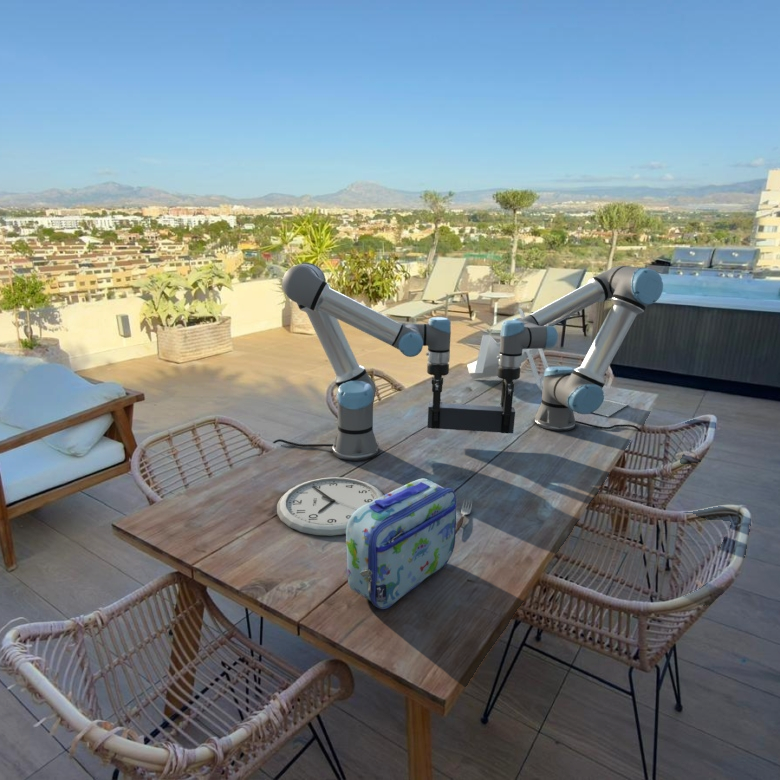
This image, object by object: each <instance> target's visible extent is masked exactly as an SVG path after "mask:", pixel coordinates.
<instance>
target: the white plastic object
mask: <svg viewBox="0 0 780 780" xmlns="http://www.w3.org/2000/svg"><path fill="white" fill-rule="evenodd" d="M518 312H519V315H520V318H521V319H522V318H524V317H526V315H525V312H524V311H523V309H522V308H521V307H520V308H518ZM480 340H481V341H480V345H479V349H478V356H477V358H476V360H475V361H472V362H470V363H468V364H467V369H468V374H469V376H470V377H471V379H473V380H476V379H485V378H494V377H498V367H499V366H500V365H499V359H497V357H498V356H500V355H499V351H500V341H498V342H497V341H496V340H495V338H494V337H493V336H492V334H482V336H481V339H480ZM538 354H539V357H540V359H541V363H542V364H543V368H544V371H545V370H546V369H547V368H549V367H550V366H549V363H548V361H547V358H546V355H545V352H544V348H542V349H522V360H521V364H523V363H524V362H525V361H527V359H528V361H529V365H530V368H531V371H532V374H533V378H534V381H535V384H536V386H537V388H538V389H539V391H541V392H542V391H543V384H542V381H541V379H540V375H539V372H538V369H537V366H536V364H535V363H536V362H535V360H534V357H533V356H535V355H538Z"/></svg>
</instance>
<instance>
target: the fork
mask: <svg viewBox="0 0 780 780" xmlns="http://www.w3.org/2000/svg"><path fill="white" fill-rule="evenodd" d="M465 500H466V499H465V498H464V500H463V503H462V506H461V509H460V513H461V515H462V516H461V517H460V518H459V519H458V522H457V523H456V533H455V536H456V535H457V533H458V532H459V531H460V529H461V527H462V525H463V522H464V517H465V516H467V515H470V514H471V512H472V506H473V502H471V500H469V501H466V502H465Z"/></svg>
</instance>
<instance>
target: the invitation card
mask: <svg viewBox="0 0 780 780" xmlns="http://www.w3.org/2000/svg"><path fill="white" fill-rule="evenodd" d="M627 406H628V404H627V403H623V402H618V401H614V400H609V399H605V398H604V400H603V403H602V404H601V406H600V407H599V408H598V409H597V410H596V411H594V412H592V414H594V415H595V414H596V415H600V416H603V417H608V418H609V417H611V416H612V415H614V414H616V413H617V412H619V411H620V410H622V409H624V408H625V407H627Z"/></svg>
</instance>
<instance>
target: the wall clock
mask: <svg viewBox="0 0 780 780" xmlns="http://www.w3.org/2000/svg"><path fill="white" fill-rule="evenodd" d="M384 495H385V494H384V493H383V492H382V491H381V490H380V489H379V488H377V487H376V486H375V485H372V484H371V483H369V482H366V481H363V480H359V479H355V478H349V477H338V476H337V477H335V476H333V477H332V476H331V477H322V478H317V479H312V480H307V481H305V482H302V483H299V484H297V485H295V486H294V487H292V488H290V489H288V490H287V491H286V492H285V493H284V494H283V495H281V497H280V498H279V500H278V502H277V503H276V515H277V516H278V518H279V520H280V521H281V522H282V523H283V524H285V525H286V526H287V527H288V528H290V529H293V530H295V531H297V532H300V533H304V534H308V535H312V536H313V535H314V536H327V537H328V536H329V537H331V536H342V535H346V528H347V524H348V521H349V519H350V517H351V515H352V514H353V513H354V512H355V511H356V510H357V509H358V508H360V507H362V506H364V505H366V504H368V503H370V502H372V501H374V500H376V499H378V498H380V497H382V496H384Z"/></svg>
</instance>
